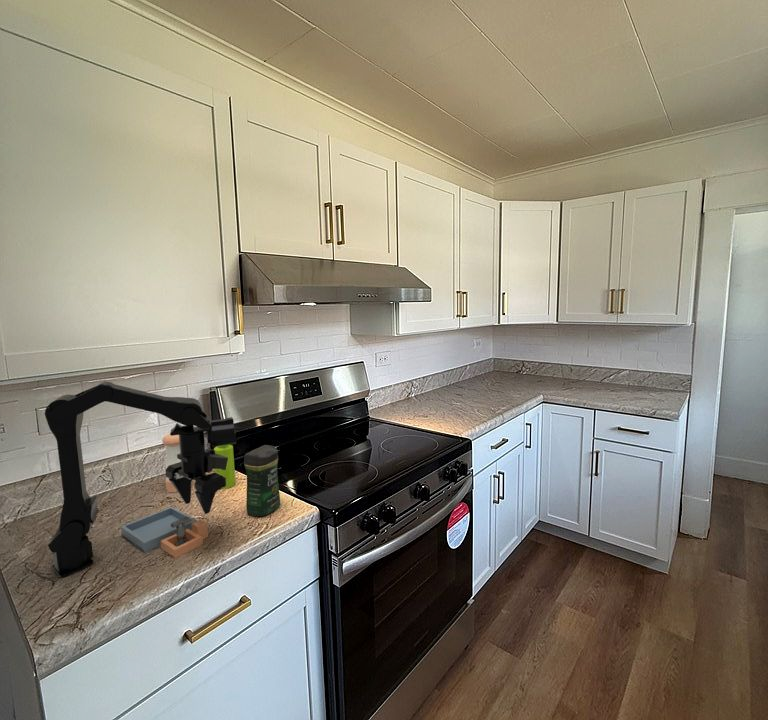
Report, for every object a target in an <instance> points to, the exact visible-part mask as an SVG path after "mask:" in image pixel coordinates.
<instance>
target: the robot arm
mask: <svg viewBox="0 0 768 720" xmlns="http://www.w3.org/2000/svg"><path fill="white" fill-rule="evenodd" d="M105 402H108V403H113V404H117V405H120V406H125V407H130V408H135V409H138V410H141V411H142V410H143V411H146V412H151V413H155V414H159V415H162V416H164V417H166V418H167V419H169V420H171V421H173V422H176V424H175V425H174V426H173V428H171V430H170V432H169V434H170V435H171V436H173V435H179V442H180V454H177V458H178V459H180V460H181V462H179V463H175V464H172V465H169V466H168V467H167V469H166V470H165V477H168V478H169V481H170V482H171V483H172V484H173V486H174V487H175V488H176V490H177V491H178V492H177V493H178V494H179V496H180V497H181V499H182V500H183V502H184V503H185V505H188V504H190V503H191V499H192V481H193V480H194V481H195V482H193V483H194V489H195V491H194V493H195V496H196V498H197V500H198V502H199V504H200V505H199V506H200V507H201V509H202V511H203V513H204V514H205V515H207V514H210V512H211V509H212V506H213V505H212V504H213V502H214V499H215V495H216V493H217V492H218V491H219V490H223V489H222V487H225V486H226V478H225V477H223V476H222V475H219V474H217V473H216V472H213V470H215V469H222V470H225V469H226V465H227V461H228V457H225V456H222V455H218V454H215V451H214V449H210V448H206V442H205V441H206V440H205V432H206V438H207V444H210V446H212V448H213V447H214V448H215V447H217V446H222V445H236V444H237V434H236V433H237V432H236V430H235V423H234V418H233V416H231V417H226V418H223V419H222V418H220V419H214V420H211V417H210V416H209V415H207V414H206V412H205V411H203V406H202V403H201V402H200V401H199V400H198V399H197V398H193V397H182V396H172V397H171V396H163V395H160V394H155V393H152V392H147V391H145V390H144V391H142V390H140V389H135V388H131V387H128V386H123V385H119V384H115V383H113V382H112V381H102V382H100V383H99V384H97V385H94V386H93V387H91V388H88V389H86V390H83V391H81V392H78V393H77V394H64V395H61V396H59V397H57V398H56V399H54V400H52V401H51V402H50V403H49V404H48V405H47V406H46V407H45V410H44V416H45V420H46V422H47V426H48V428H49V430H50V432H51V433H52V435H53V436H54V438H55V440H56V444H57V452H58V453H57V455H58V461H59V469H60V471H59V472H60V479H61V487H62V494H63V503H62V509H61V513H60V519H59V526H58V528H57V530H56V531H55V533H54V535H53V536H52V538H51V540H50V541H49V543H48V545H47V547H48V548H49V550H50V551H51V553H52V559H53V564H52V565H51V569H52V570H53V571H54V572H55V573H56V574H57V576H59V578H65V577H66V576H68V575H70V574H74V573H75V572H78V571H81V570H82V569H85V568H87V567H89V566H92V565H94V563H95V561H94V560H93V558H94V551H93V543H92V541H91V540H90V539H89V536H87V534H89V532H90V531H91V528H92V526H93V524H94V523H95V521H96V518H97V516H98V515H99V512H100V509H99V508H98V505H97V504H98V503H97V502H98V496H97V495H94V496H91V495H89V493H88V491H87V487H86V486H87V485H86V477H85V475H86V474H85V467H84V459H83V450H82V440H81V429H82V425H83V420H84V412H87V411H88V410H90V409H92V408H94V407H97V406H98V405H99V404H101V403H105ZM211 472H212V473H211ZM207 473H208V474H207Z"/></svg>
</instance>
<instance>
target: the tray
mask: <svg viewBox="0 0 768 720" xmlns="http://www.w3.org/2000/svg"><path fill="white" fill-rule="evenodd" d="M185 517H188V518H189V521H188V522H186V523H185V530H186V529H190V530H191V531H192V525H191V524H192V523H194V522H196V521H198V520H197V519H196V518H194V517H192V516H190V515H188V514H186V513H184V512H183V511H181V510H179V509H177V508H176V507H174V506H170V507H168V508H165V509H162V510H160V511H156V512H155V513H152V514H150V515H147V516H144V517H142V518H139V519H137V520H134V521H132V522H129V523H126V524H123V525H121V526H120V529H121V530H120V532H121V536H122V537H123V538H124V539H126V540H127V541H129V542H130V543H131V544H133V545H134V546H135V547H136V548H138V549H140V550H141V551H142V552H144V553H148V552H150V551H152V550H154V549H156V548H158V547H161V540H163V539H166V538H168V537H170V536H172V535H175V534H177V533H176V527H174V528H173V527H171V523H173V522H175V521H178V520H180V519H182V518H185Z"/></svg>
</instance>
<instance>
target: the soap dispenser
mask: <svg viewBox="0 0 768 720" xmlns="http://www.w3.org/2000/svg"><path fill="white" fill-rule="evenodd" d="M213 450H214V451H215V454H218V455H222V456H225V457H228V461H227V465H226V469H225V470H222V469H214V470H215V473H217V474H219V475H222V476H223V477H225V478H226V486H225V487H222V489H221V490H224V489H223V488H228V489H230V487H231V488H233V487H235V486H234V485H236V472H235V458H234V457H235V455H234V446H233V444H229V445H222V446H215V447H214V448H213Z"/></svg>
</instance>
